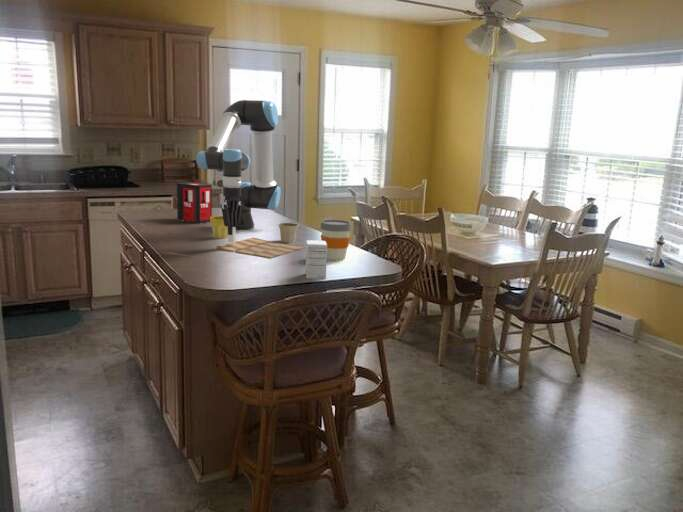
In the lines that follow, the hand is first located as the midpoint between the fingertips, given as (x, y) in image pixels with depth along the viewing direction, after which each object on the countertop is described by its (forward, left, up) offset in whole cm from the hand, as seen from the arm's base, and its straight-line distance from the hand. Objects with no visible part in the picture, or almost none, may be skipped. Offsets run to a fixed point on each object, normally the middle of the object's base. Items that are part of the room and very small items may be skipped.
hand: (231, 242), depth 252 cm
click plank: (-7, +1, -3) cm, 8 cm away
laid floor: (-7, +15, -3) cm, 17 cm away
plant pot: (-17, -20, -4) cm, 26 cm away
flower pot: (-28, +10, -4) cm, 30 cm away
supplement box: (+17, +51, -4) cm, 54 cm away
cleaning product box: (-45, -61, -4) cm, 76 cm away
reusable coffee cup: (-14, +42, -4) cm, 45 cm away
